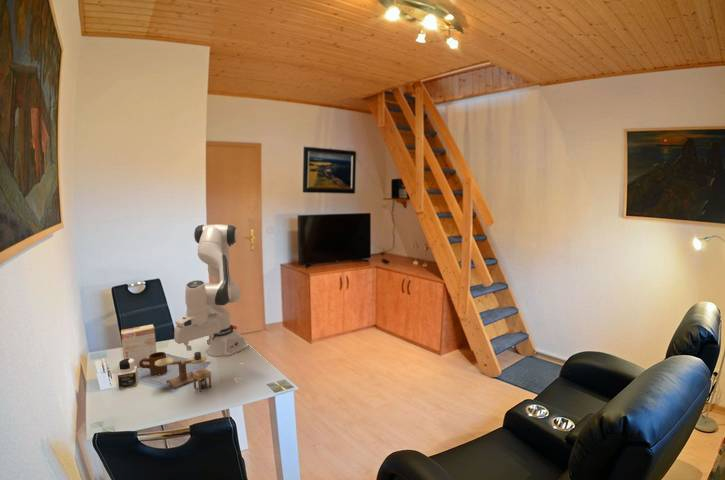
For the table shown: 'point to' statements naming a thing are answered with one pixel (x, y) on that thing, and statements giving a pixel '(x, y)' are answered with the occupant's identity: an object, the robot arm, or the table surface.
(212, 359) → the table surface
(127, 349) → the coffeecake box
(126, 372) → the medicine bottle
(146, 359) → the mug
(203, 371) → the tan peg block
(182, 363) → the balance
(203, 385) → the grey domed cylinder
